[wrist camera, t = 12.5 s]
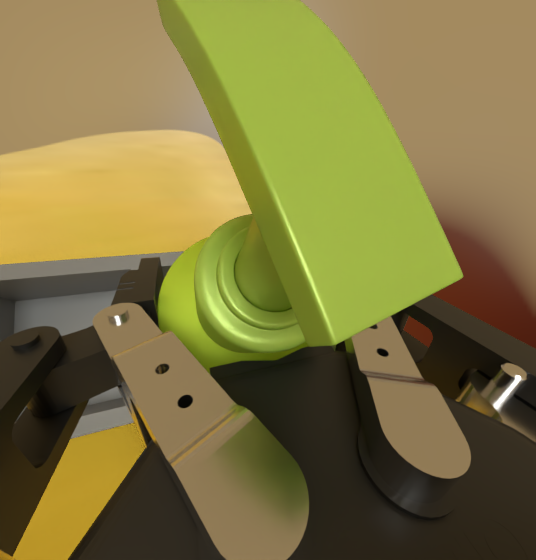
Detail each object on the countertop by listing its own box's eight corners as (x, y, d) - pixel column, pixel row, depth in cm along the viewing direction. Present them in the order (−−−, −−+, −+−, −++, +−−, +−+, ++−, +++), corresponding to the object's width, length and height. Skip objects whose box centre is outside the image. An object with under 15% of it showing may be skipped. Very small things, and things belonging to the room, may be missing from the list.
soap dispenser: (233, 279, 23) (382, -49, 4) (263, 350, 22) (645, 335, 3) (168, 302, 21) (-106, -139, 2) (197, 381, 20) (147, 893, 1)
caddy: (0, 439, 17) (-96, 481, 12) (8, 292, 19) (-67, 269, 14) (281, 371, 23) (307, 377, 18) (261, 267, 26) (279, 244, 20)
